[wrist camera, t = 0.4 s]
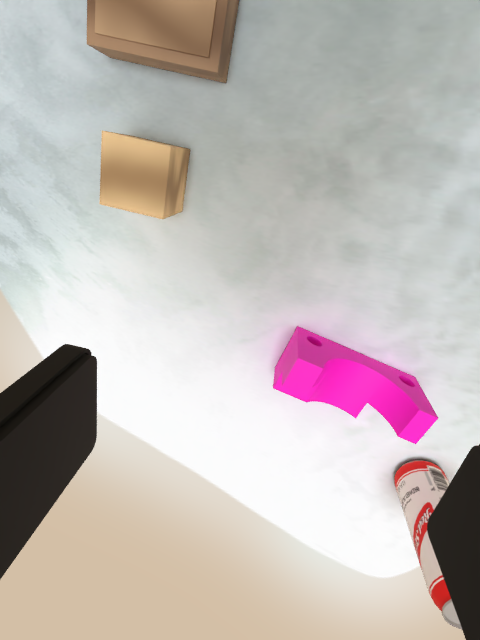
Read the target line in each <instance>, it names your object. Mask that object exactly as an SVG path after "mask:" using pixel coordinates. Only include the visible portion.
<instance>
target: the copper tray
mask: <svg viewBox="0 0 480 640" xmlns="http://www.w3.org/2000/svg"><path fill="white" fill-rule="evenodd" d="M238 5H239V0H87V44H88V45H89V46H91V47H93V48H95V49H96V50H98V51H100V52H101V53H103V54H105V55H107V56H108V57H110V58H114V59H119V60H123V61H128V62H132V63H137V64H142V65H146V66H151V67H155V68H160V69H164V70H169V71H173V72H178V73H183V74H187V75H192V76H196V77H201V78H205V79H210V80H214V81H219V82H224V83H226V81H227V74H228V68H229V62H230V55H231V49H232V43H233V36H234V30H235V24H236V17H237V11H238Z"/></svg>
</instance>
